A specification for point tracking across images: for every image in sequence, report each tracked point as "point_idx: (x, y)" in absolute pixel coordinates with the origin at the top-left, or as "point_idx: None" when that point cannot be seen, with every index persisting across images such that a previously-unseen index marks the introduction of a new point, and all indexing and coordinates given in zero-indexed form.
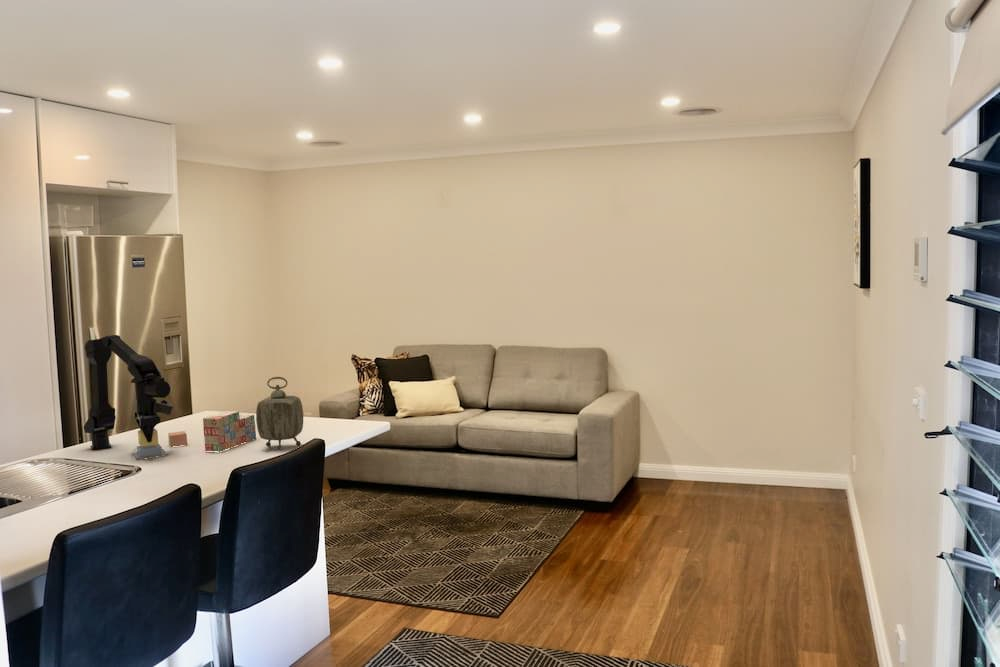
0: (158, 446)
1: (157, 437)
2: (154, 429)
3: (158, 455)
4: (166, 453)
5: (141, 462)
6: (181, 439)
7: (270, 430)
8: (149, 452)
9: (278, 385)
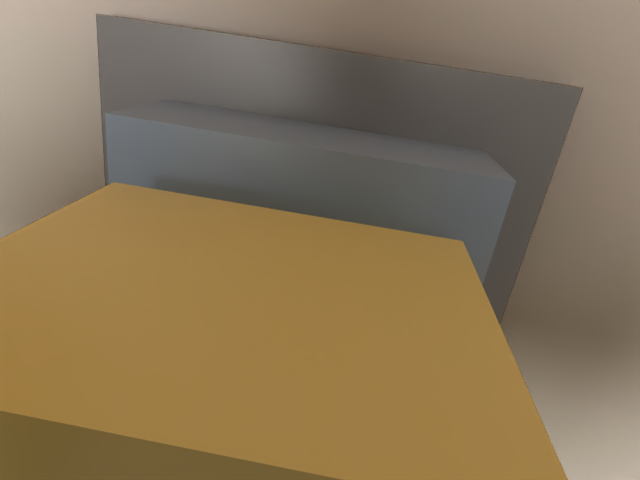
0: (416, 209)
1: (500, 336)
2: (10, 450)
3: (533, 221)
4: (535, 89)
5: (616, 438)
6: None
7: None
8: None
9: None
